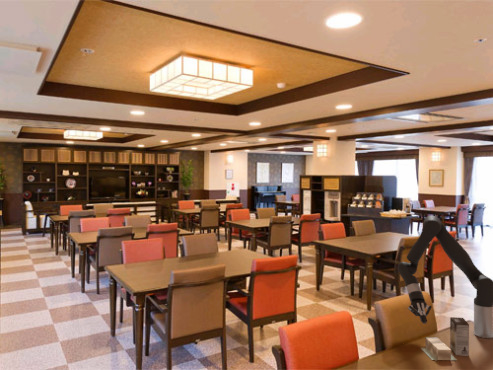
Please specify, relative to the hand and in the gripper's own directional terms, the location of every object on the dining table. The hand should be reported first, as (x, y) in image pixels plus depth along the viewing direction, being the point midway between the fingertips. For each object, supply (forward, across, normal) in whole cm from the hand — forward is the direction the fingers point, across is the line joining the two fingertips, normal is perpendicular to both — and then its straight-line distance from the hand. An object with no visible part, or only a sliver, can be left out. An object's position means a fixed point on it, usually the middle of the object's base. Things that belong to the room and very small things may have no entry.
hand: (424, 322), depth 204 cm
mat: (+18, 0, -4) cm, 18 cm away
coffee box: (+16, +12, -2) cm, 20 cm away
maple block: (+10, 0, 0) cm, 11 cm away
